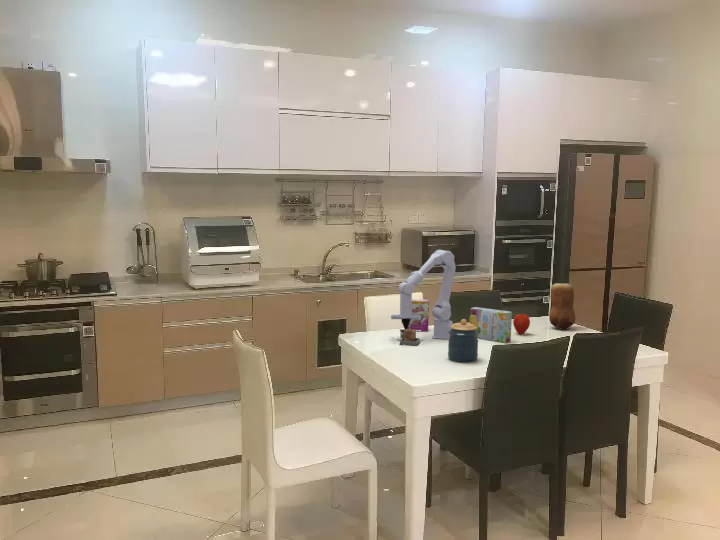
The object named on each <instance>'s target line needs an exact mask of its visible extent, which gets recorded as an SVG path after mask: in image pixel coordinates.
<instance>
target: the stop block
mask: <svg viewBox="0 0 720 540" xmlns="http://www.w3.org/2000/svg"><path fill="white" fill-rule="evenodd" d="M416 338H417V331H416V330H414V329H405V330H404V341H416Z"/></svg>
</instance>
